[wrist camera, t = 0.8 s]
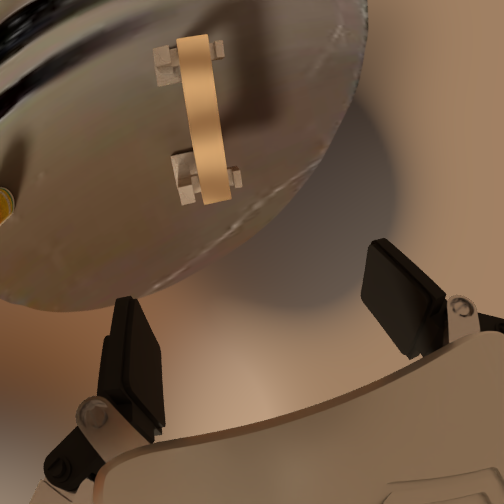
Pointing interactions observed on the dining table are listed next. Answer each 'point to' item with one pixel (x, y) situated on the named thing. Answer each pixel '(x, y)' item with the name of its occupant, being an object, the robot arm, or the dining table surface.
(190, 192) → the bracket far
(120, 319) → the robot arm
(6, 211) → the supplement bottle
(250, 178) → the dining table surface
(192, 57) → the rail
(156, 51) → the bracket near
